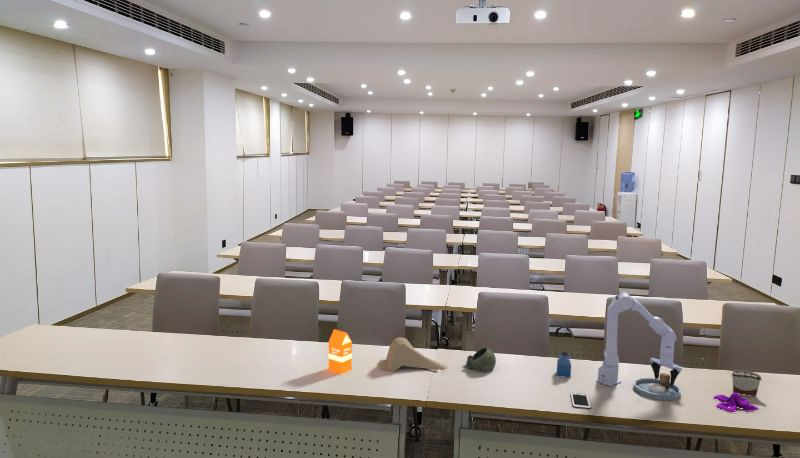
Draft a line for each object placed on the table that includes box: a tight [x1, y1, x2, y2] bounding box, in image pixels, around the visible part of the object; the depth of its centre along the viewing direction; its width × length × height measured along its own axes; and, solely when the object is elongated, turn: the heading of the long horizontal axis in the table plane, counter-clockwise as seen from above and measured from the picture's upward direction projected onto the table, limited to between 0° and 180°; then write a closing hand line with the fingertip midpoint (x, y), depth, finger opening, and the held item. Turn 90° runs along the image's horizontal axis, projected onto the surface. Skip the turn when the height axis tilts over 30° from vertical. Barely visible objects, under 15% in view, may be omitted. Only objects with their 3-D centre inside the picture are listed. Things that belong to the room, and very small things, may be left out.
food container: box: [730, 369, 763, 397], centre depth 268 cm, size 12×6×10 cm, turn 71°
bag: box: [378, 336, 447, 373], centre depth 290 cm, size 19×17×35 cm
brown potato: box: [659, 372, 671, 389], centre depth 271 cm, size 4×4×6 cm
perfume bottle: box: [556, 350, 572, 378], centre depth 284 cm, size 6×6×12 cm
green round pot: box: [465, 347, 497, 372], centre depth 291 cm, size 15×15×10 cm
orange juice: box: [328, 328, 353, 375], centre depth 283 cm, size 8×9×20 cm
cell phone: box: [570, 392, 592, 410], centre depth 255 cm, size 8×15×1 cm, turn 168°
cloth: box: [712, 392, 760, 413], centre depth 254 cm, size 22×19×6 cm
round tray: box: [633, 377, 682, 401], centre depth 268 cm, size 20×20×2 cm
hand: (664, 381), depth 271 cm, fingers open, 7 cm apart
